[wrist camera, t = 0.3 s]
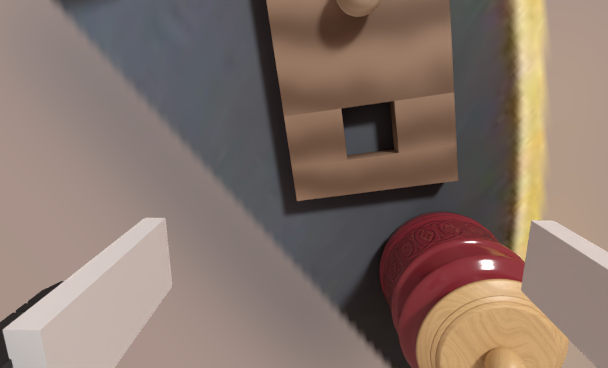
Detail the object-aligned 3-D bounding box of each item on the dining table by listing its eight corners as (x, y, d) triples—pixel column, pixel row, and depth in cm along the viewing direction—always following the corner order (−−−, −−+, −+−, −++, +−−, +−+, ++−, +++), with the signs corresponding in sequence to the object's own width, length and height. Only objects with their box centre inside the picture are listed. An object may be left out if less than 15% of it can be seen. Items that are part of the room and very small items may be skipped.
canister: (509, 293, 44) (634, 427, 26) (399, 330, 45) (450, 480, 28) (475, 190, 41) (590, 266, 24) (360, 233, 42) (389, 334, 25)
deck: (260, -55, 36) (256, -65, 33) (436, -85, 35) (444, -97, 32) (298, 194, 41) (296, 201, 39) (449, 174, 40) (458, 180, 38)
